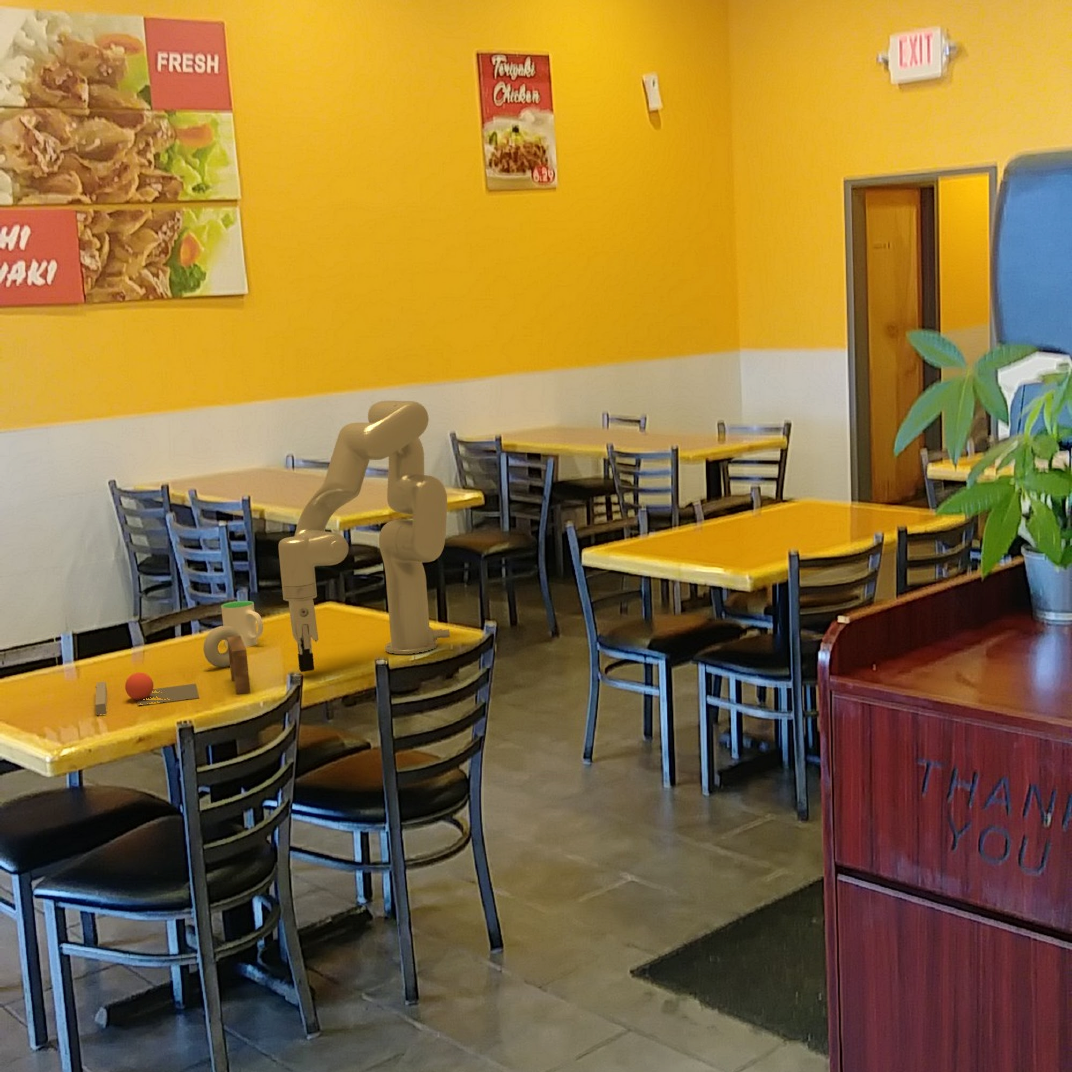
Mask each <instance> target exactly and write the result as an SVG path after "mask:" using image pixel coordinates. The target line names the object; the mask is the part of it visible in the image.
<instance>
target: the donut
mask: <svg viewBox="0 0 1072 1072" xmlns="http://www.w3.org/2000/svg"><path fill="white" fill-rule="evenodd" d="M236 636H240V634H239V633H238V631H236V630H235V629H234V628H232V627H229V626H223V625H220V626H216V627H215V628H213V629H212V630H211V631H210V632H209V633H208V634H207V635H206V637H205V639H204V643H203V653H204V657H205V659H206V661H207V662H208V663H209V664H211V665H212V666H213V667H217V668H227V667H230V660H229V650H228V648H227V649H226V650H225V652H223V653H222V652H220V651H219V644H220V643H221V642H222V641H225V640H226V641H227V638H228V637H236ZM227 642H228V641H227Z"/></svg>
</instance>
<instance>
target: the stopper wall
mask: <svg viewBox="0 0 1072 1072" xmlns="http://www.w3.org/2000/svg"><path fill="white" fill-rule="evenodd" d="M107 700H108V690H107V682H106V681H100V682H96V686H95V700H94V701H95V702H94V703H95V704H94V706H95V714H96V715H95V716H97V715H100V714H106V715H107V711H106V709H108V708H106V707H108V706H107V704H108V703H107V702H108V701H107Z"/></svg>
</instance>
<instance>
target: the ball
mask: <svg viewBox="0 0 1072 1072" xmlns="http://www.w3.org/2000/svg"><path fill="white" fill-rule="evenodd" d="M124 685H125V686H124V689H125V692H126V694H127V696H129V698H131V699H133V700H136V701H137V700H142V699H145V698H147V697H148V696H149V695H150V694H151V693H152V691H153V689H154V681H153V679H152V677H151V676H150V675H148V674H146V673H145V672H136V673H132V674H131V675H130V676H129V677H128V678H127V679H126V681H125V684H124Z"/></svg>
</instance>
